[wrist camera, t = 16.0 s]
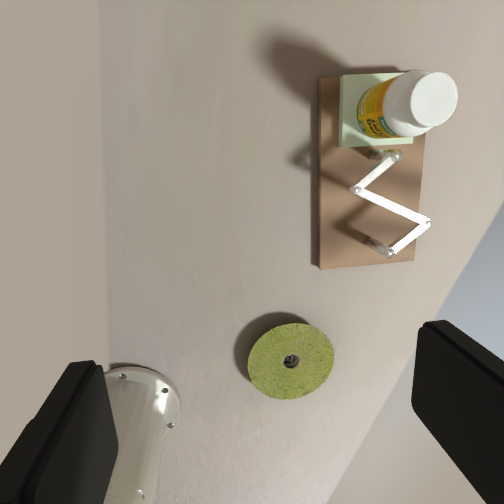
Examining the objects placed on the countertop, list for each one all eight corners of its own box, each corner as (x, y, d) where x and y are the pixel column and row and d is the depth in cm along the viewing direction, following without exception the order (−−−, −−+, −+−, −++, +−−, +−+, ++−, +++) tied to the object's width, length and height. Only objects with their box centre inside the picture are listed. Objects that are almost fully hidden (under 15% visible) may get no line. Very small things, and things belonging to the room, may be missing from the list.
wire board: (409, 258, 43) (413, 260, 42) (317, 266, 42) (320, 269, 41) (425, 75, 37) (430, 73, 36) (318, 79, 36) (321, 77, 35)
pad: (407, 143, 38) (412, 143, 37) (338, 147, 37) (342, 147, 36) (413, 74, 36) (418, 72, 35) (340, 76, 35) (343, 74, 34)
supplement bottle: (411, 98, 36) (479, 80, 27) (386, 147, 37) (445, 147, 28) (367, 74, 35) (424, 48, 26) (344, 126, 36) (390, 119, 27)
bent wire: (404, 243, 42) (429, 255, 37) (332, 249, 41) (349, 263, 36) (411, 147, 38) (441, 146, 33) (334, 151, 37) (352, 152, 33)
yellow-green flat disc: (332, 381, 48) (337, 390, 46) (252, 397, 47) (254, 408, 45) (325, 308, 44) (330, 315, 42) (239, 325, 43) (241, 333, 41)
